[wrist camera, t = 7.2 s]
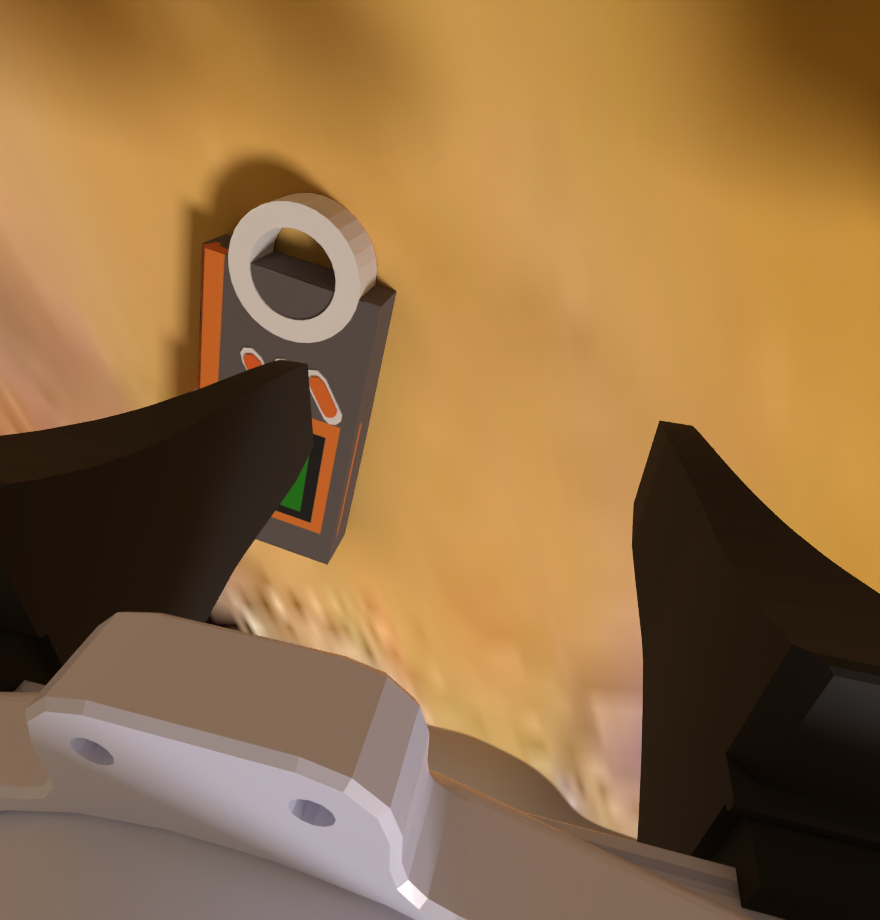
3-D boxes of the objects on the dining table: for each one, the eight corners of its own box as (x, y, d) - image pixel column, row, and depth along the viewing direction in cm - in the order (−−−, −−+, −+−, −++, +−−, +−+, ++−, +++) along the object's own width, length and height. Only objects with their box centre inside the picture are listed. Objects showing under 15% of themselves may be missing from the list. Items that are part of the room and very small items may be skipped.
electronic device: (392, 237, 19) (323, 575, 27) (416, 219, 21) (346, 534, 29) (188, 169, 19) (181, 525, 27) (235, 159, 21) (216, 488, 30)
